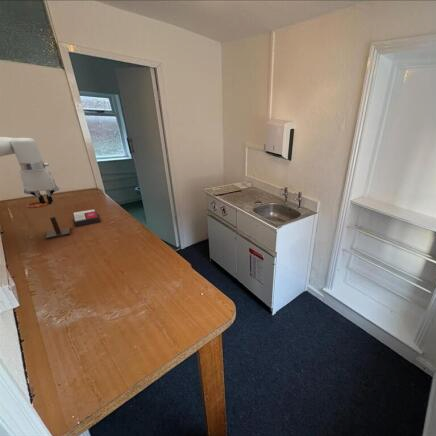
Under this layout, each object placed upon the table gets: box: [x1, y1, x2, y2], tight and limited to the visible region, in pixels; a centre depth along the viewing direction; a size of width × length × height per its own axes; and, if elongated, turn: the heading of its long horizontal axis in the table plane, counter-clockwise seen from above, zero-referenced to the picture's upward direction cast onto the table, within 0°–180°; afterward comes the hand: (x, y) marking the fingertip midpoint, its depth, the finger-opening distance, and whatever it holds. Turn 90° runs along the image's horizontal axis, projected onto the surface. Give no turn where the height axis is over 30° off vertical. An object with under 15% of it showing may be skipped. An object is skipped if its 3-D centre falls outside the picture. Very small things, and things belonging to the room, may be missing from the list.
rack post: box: [45, 215, 71, 240], centre depth 123 cm, size 9×9×10 cm
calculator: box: [72, 208, 100, 227], centre depth 141 cm, size 11×4×15 cm
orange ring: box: [25, 200, 50, 209], centre depth 111 cm, size 8×8×1 cm
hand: (47, 203), depth 113 cm, fingers closed on orange ring, 1 cm apart
